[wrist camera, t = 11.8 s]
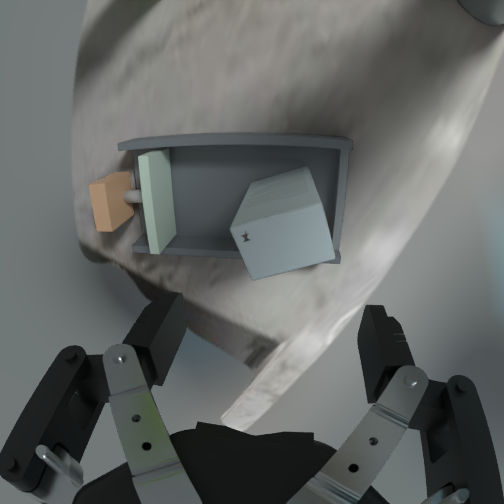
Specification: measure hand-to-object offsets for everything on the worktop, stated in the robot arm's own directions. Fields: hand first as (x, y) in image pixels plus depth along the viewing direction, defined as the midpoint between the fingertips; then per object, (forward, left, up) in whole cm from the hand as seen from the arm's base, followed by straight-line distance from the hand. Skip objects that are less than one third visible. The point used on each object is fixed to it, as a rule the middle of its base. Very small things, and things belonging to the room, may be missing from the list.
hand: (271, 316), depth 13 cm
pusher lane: (+5, 0, -20) cm, 20 cm away
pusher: (+15, 0, -19) cm, 24 cm away
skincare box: (0, 0, -19) cm, 19 cm away
